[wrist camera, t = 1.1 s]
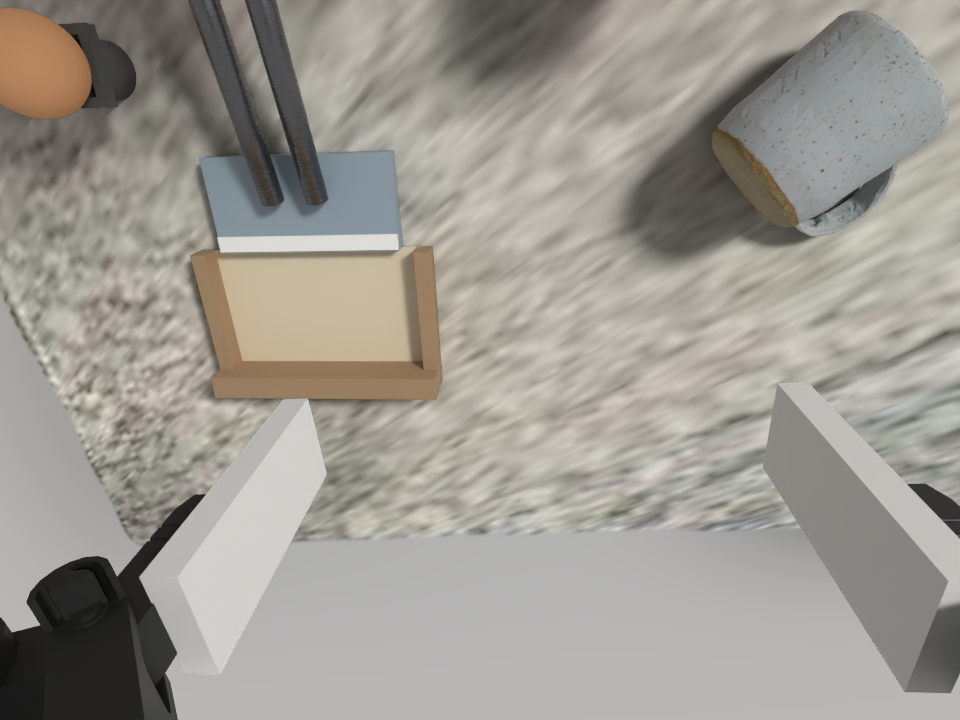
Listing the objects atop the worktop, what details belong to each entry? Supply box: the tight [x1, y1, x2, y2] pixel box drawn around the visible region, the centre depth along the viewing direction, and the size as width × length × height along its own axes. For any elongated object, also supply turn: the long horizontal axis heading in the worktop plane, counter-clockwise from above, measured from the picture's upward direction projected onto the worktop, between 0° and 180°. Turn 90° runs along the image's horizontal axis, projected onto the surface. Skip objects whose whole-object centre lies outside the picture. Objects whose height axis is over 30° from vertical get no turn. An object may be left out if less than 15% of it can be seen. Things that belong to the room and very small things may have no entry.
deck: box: [199, 150, 403, 254], centre depth 35 cm, size 6×12×1 cm, turn 92°
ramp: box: [188, 0, 329, 207], centre depth 28 cm, size 18×4×8 cm, turn 2°
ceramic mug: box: [711, 10, 948, 236], centre depth 29 cm, size 11×8×8 cm
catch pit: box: [190, 246, 442, 400], centre depth 38 cm, size 10×16×3 cm, turn 92°
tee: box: [58, 23, 136, 108], centre depth 31 cm, size 4×4×4 cm
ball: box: [0, 8, 92, 119], centre depth 28 cm, size 5×5×5 cm
